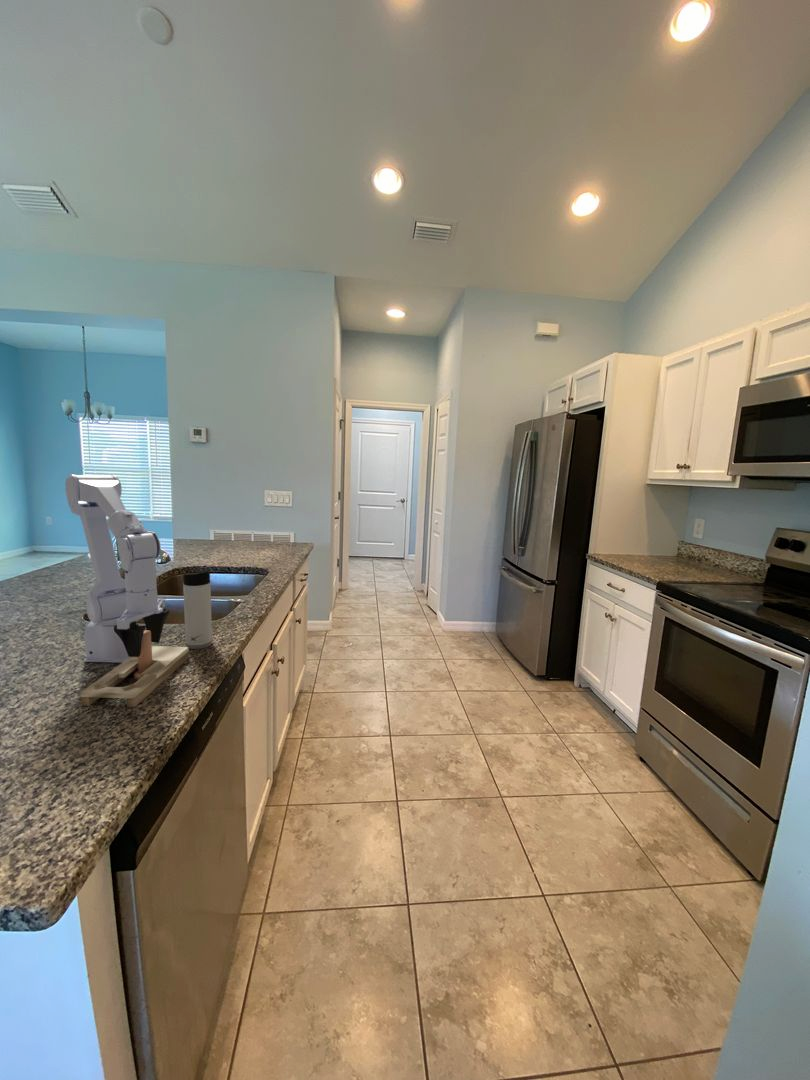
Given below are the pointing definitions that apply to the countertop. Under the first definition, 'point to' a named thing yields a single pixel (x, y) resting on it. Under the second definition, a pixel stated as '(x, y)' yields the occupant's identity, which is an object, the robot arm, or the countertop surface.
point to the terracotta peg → (144, 655)
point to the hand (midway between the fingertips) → (144, 648)
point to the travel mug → (197, 609)
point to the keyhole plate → (162, 667)
